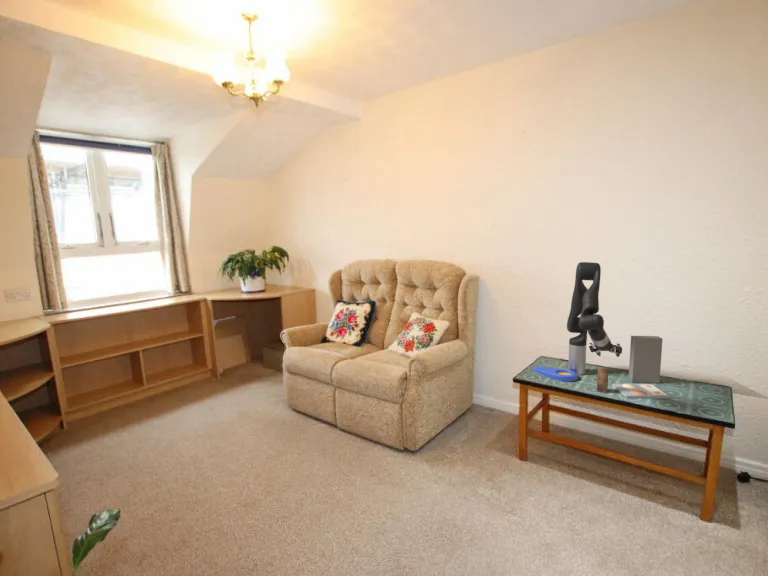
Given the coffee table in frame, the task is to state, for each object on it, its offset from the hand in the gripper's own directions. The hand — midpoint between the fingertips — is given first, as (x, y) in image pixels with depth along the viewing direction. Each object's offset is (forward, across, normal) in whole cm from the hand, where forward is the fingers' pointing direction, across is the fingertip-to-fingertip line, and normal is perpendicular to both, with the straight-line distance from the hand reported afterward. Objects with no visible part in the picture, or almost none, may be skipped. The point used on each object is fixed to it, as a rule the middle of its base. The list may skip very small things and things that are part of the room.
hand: (608, 354), depth 213 cm
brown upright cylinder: (+12, +4, +15) cm, 20 cm away
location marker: (+16, +32, +7) cm, 36 cm away
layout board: (+20, -11, +10) cm, 25 cm away
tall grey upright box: (+34, -9, -2) cm, 36 cm away
